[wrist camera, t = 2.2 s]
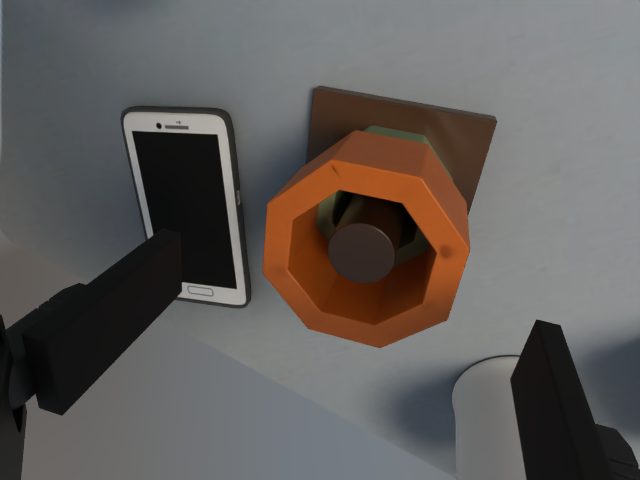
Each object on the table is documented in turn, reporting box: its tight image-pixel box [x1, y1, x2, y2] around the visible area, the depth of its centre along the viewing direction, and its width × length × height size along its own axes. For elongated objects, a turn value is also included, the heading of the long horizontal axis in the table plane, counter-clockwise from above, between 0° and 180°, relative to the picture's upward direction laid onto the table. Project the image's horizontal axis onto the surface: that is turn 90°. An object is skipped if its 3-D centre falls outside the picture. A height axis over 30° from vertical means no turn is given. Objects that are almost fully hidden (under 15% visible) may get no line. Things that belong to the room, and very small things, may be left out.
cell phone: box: [121, 106, 251, 308], centre depth 32 cm, size 8×15×1 cm, turn 1°
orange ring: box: [262, 130, 470, 348], centre depth 21 cm, size 8×8×5 cm
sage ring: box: [316, 125, 453, 268], centre depth 25 cm, size 7×7×4 cm
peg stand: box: [306, 86, 497, 284], centre depth 24 cm, size 10×10×10 cm
